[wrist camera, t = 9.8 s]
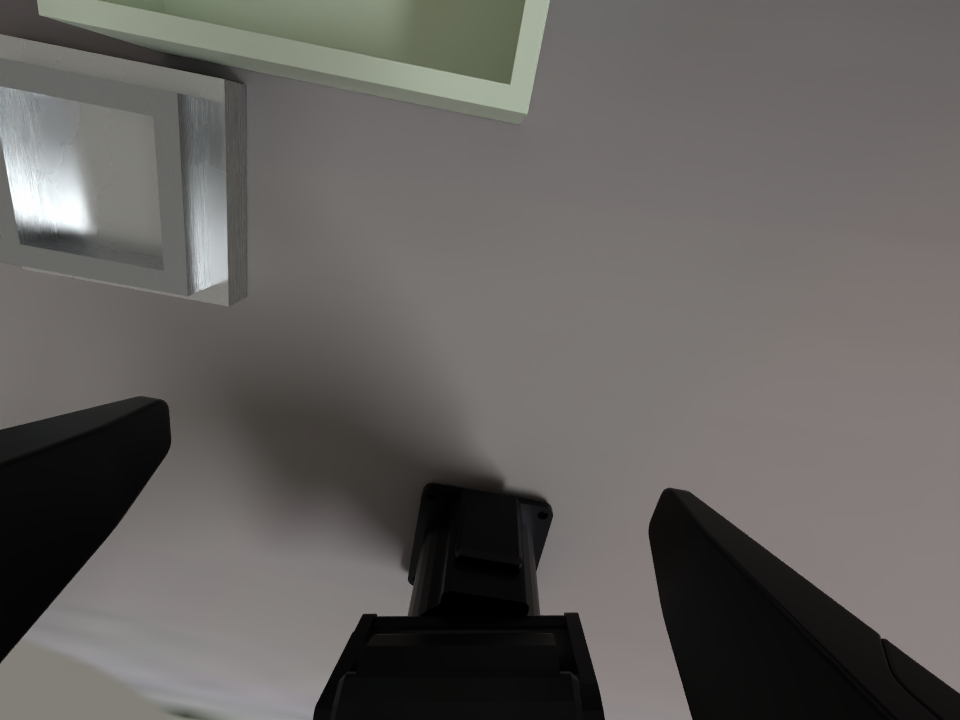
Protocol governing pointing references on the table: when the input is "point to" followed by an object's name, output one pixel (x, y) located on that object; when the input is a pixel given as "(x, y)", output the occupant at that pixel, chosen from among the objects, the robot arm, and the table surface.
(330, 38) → the bin
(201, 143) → the socket block
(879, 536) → the table surface
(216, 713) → the table surface
